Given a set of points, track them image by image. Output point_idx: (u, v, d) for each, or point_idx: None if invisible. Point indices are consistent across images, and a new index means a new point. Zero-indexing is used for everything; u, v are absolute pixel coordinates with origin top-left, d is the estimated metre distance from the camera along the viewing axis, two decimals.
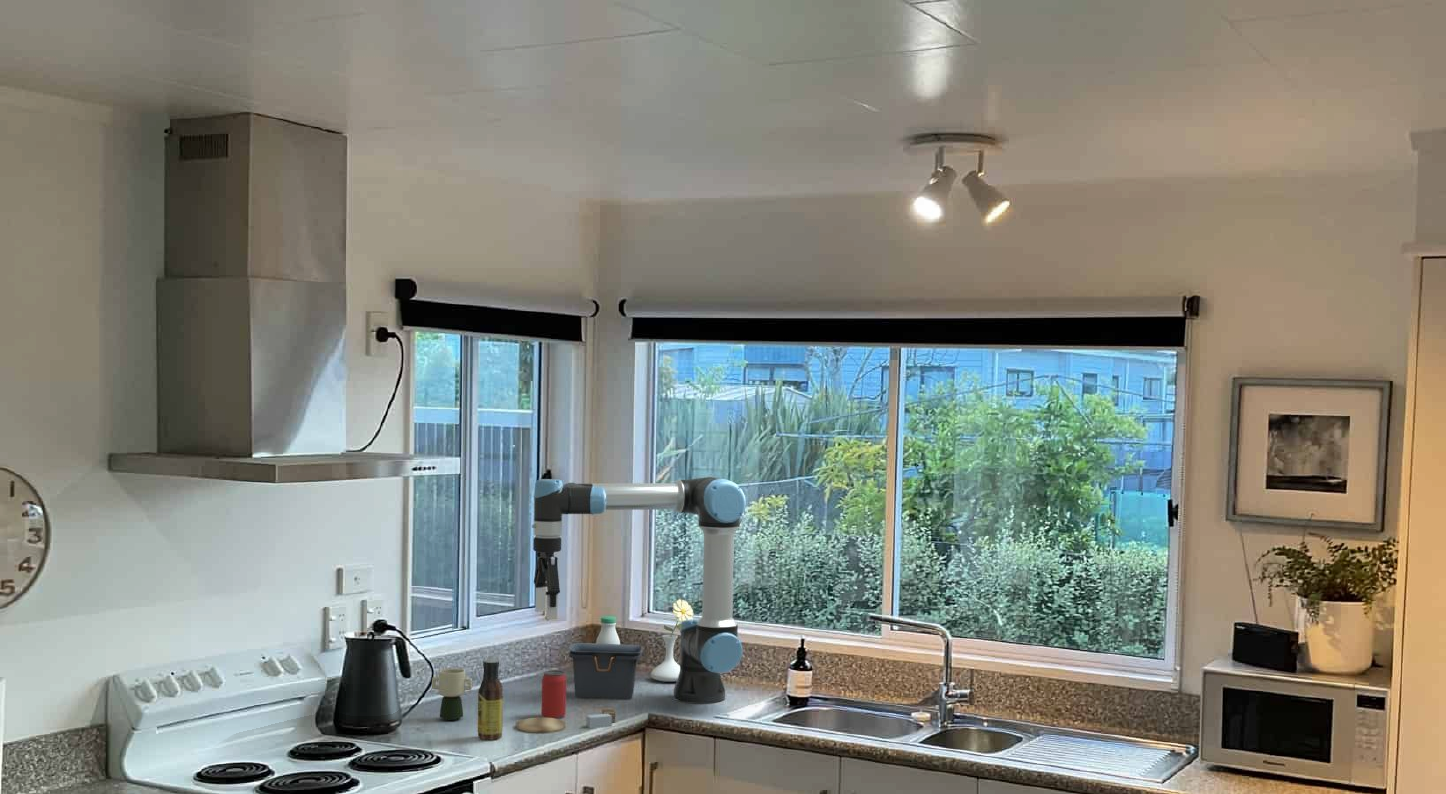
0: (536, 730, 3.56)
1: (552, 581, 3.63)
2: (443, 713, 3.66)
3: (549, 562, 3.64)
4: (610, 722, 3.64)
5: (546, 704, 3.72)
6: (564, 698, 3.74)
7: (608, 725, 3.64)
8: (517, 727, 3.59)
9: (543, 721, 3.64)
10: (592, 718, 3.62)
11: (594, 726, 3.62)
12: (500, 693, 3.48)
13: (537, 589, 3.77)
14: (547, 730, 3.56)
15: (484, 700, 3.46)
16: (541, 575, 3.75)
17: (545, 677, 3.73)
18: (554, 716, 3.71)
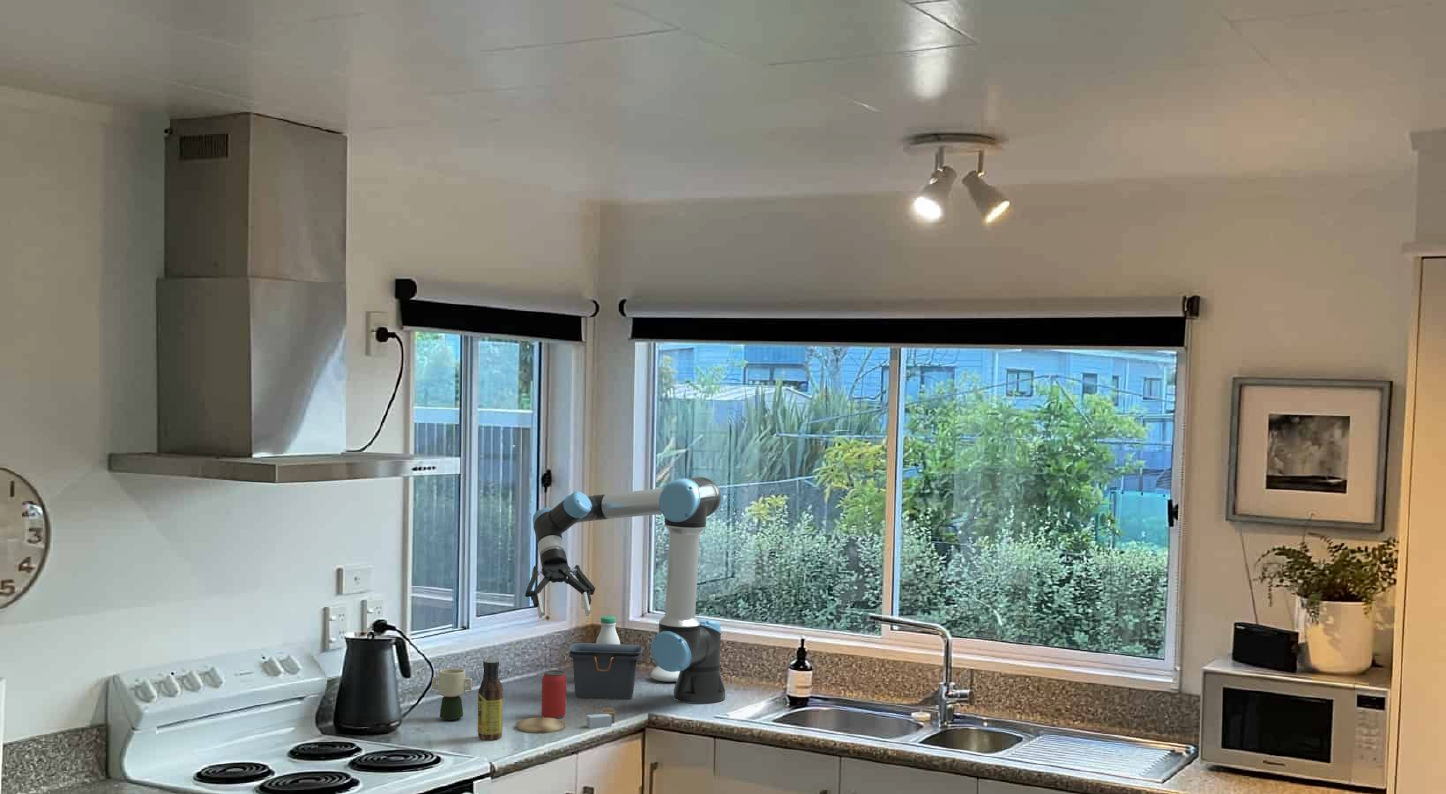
0: (536, 730, 3.56)
1: None
2: (443, 713, 3.66)
3: (532, 574, 3.97)
4: (610, 722, 3.64)
5: (546, 704, 3.72)
6: (564, 698, 3.74)
7: (608, 725, 3.64)
8: (517, 727, 3.59)
9: (543, 721, 3.64)
10: (592, 718, 3.62)
11: (594, 726, 3.62)
12: (500, 693, 3.48)
13: (582, 598, 3.96)
14: (547, 730, 3.56)
15: (484, 700, 3.46)
16: (574, 585, 3.97)
17: (545, 677, 3.73)
18: (554, 716, 3.71)
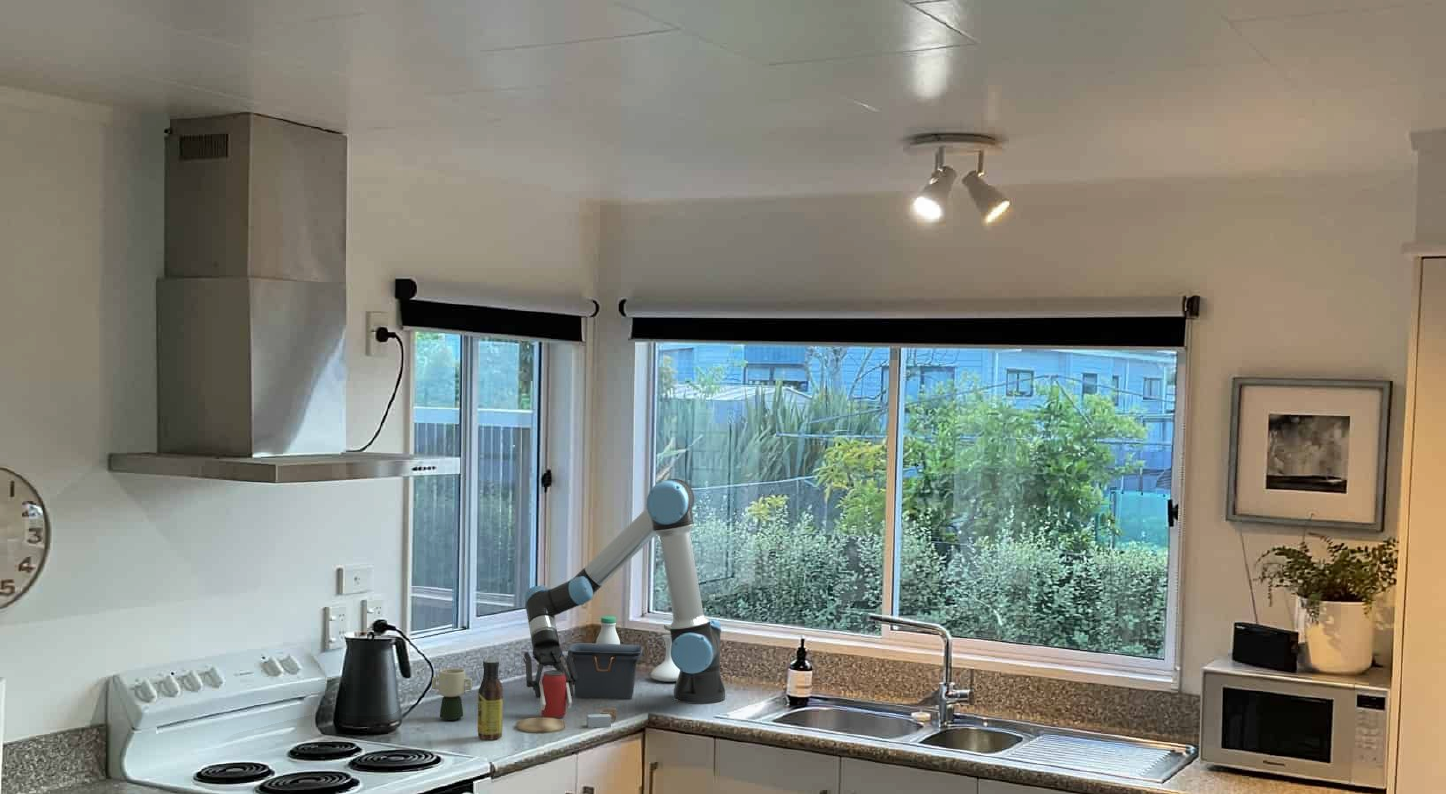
0: (536, 730, 3.56)
1: (526, 676, 3.76)
2: (443, 713, 3.66)
3: (524, 661, 3.80)
4: (609, 723, 3.64)
5: (546, 704, 3.72)
6: (564, 698, 3.73)
7: (607, 725, 3.64)
8: (517, 727, 3.59)
9: (543, 721, 3.64)
10: (591, 718, 3.62)
11: (593, 726, 3.63)
12: (500, 693, 3.48)
13: None
14: (547, 730, 3.56)
15: (484, 700, 3.46)
16: None
17: (545, 677, 3.72)
18: (554, 716, 3.71)
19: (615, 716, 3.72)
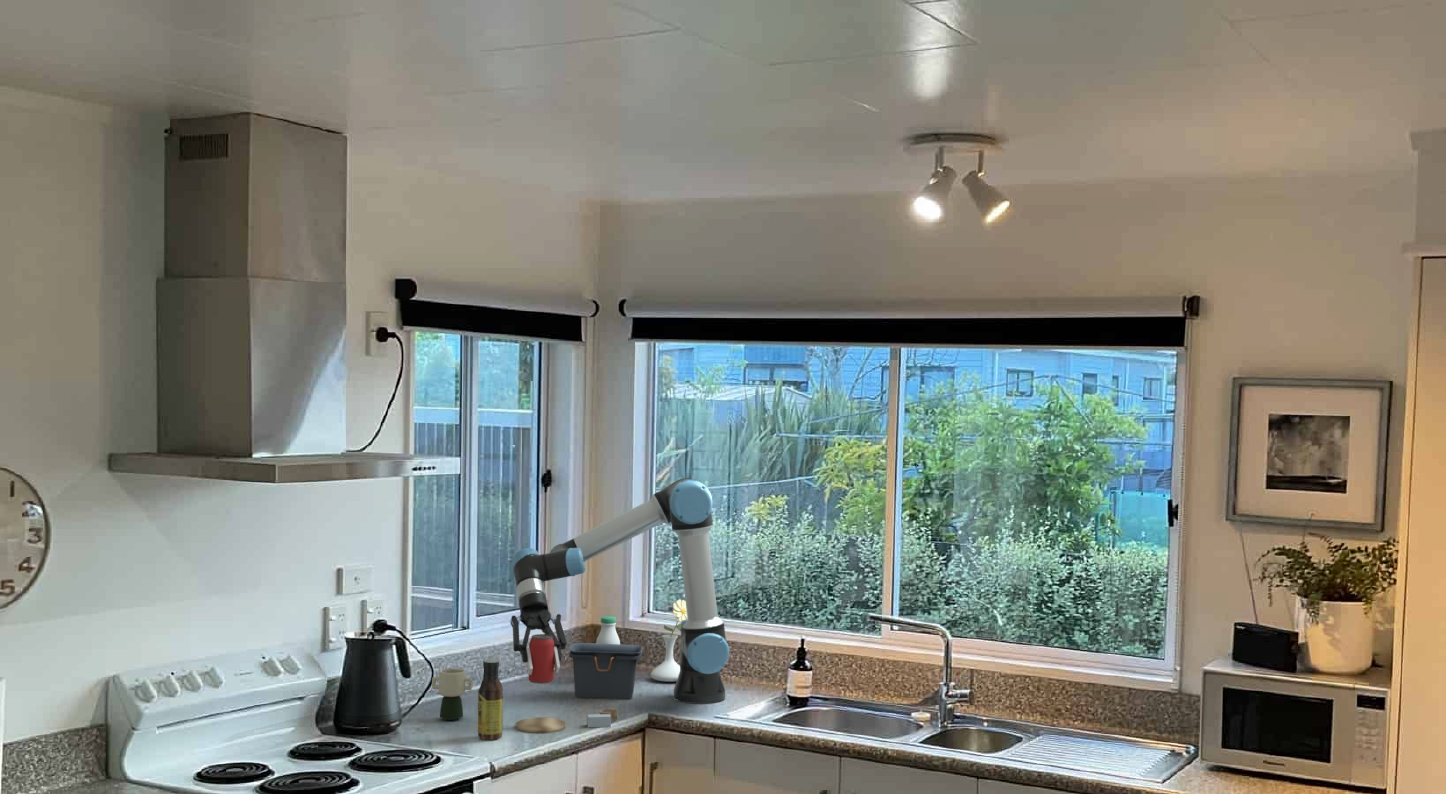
0: (536, 730, 3.56)
1: (513, 640, 3.64)
2: (443, 713, 3.66)
3: (511, 625, 3.68)
4: (609, 723, 3.63)
5: (533, 668, 3.60)
6: (552, 662, 3.61)
7: (607, 726, 3.63)
8: (517, 727, 3.59)
9: (543, 721, 3.64)
10: (590, 718, 3.63)
11: (592, 726, 3.63)
12: (500, 693, 3.48)
13: None
14: (547, 730, 3.56)
15: (484, 700, 3.46)
16: None
17: (532, 641, 3.60)
18: (541, 681, 3.59)
19: (616, 716, 3.72)
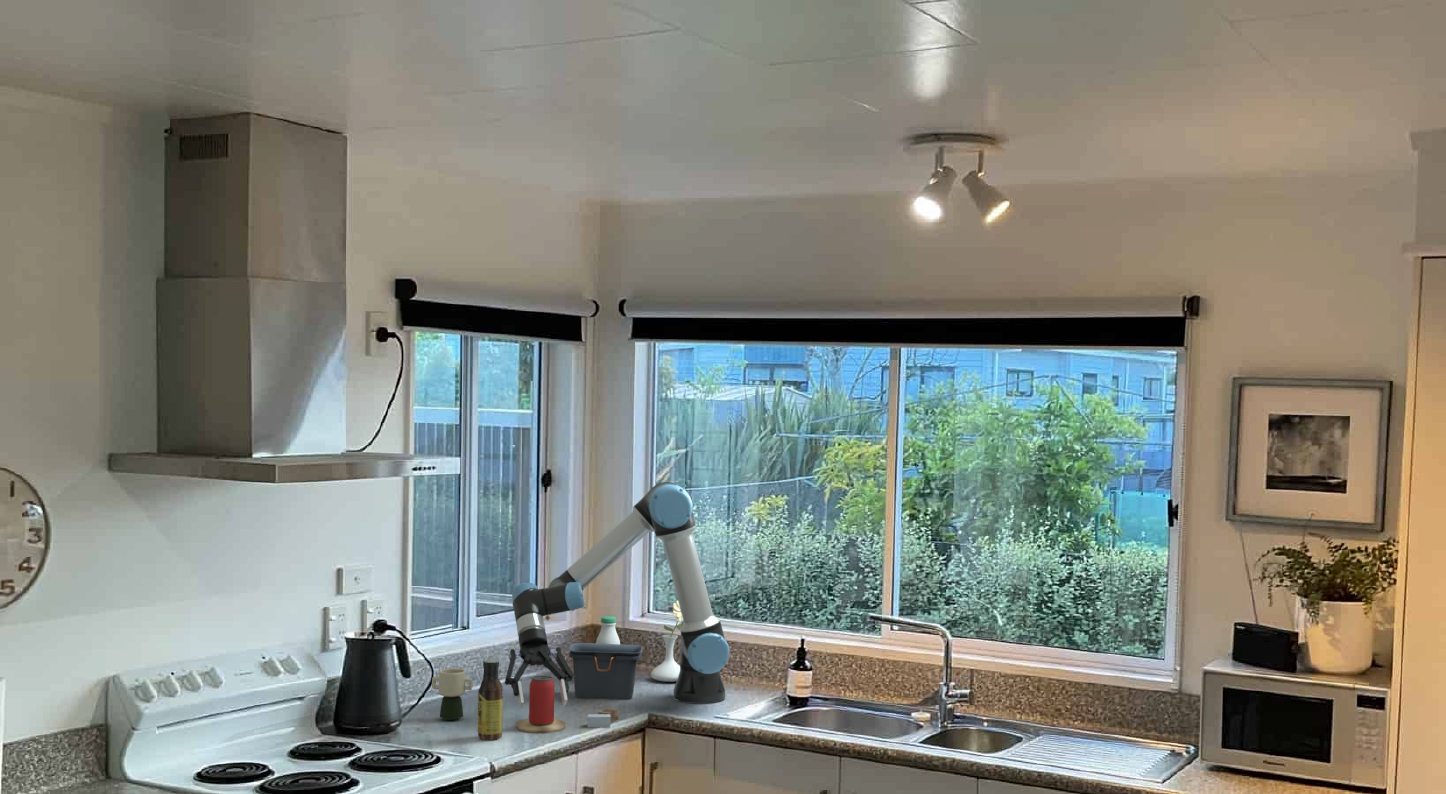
0: (536, 730, 3.56)
1: None
2: (443, 713, 3.66)
3: None
4: (609, 723, 3.63)
5: (533, 710, 3.59)
6: (553, 704, 3.61)
7: (607, 726, 3.63)
8: (517, 727, 3.59)
9: None
10: (590, 717, 3.63)
11: (592, 726, 3.63)
12: (500, 693, 3.48)
13: (559, 685, 3.66)
14: (547, 730, 3.56)
15: (484, 700, 3.46)
16: (552, 670, 3.68)
17: (533, 682, 3.60)
18: (542, 723, 3.59)
19: (616, 716, 3.72)
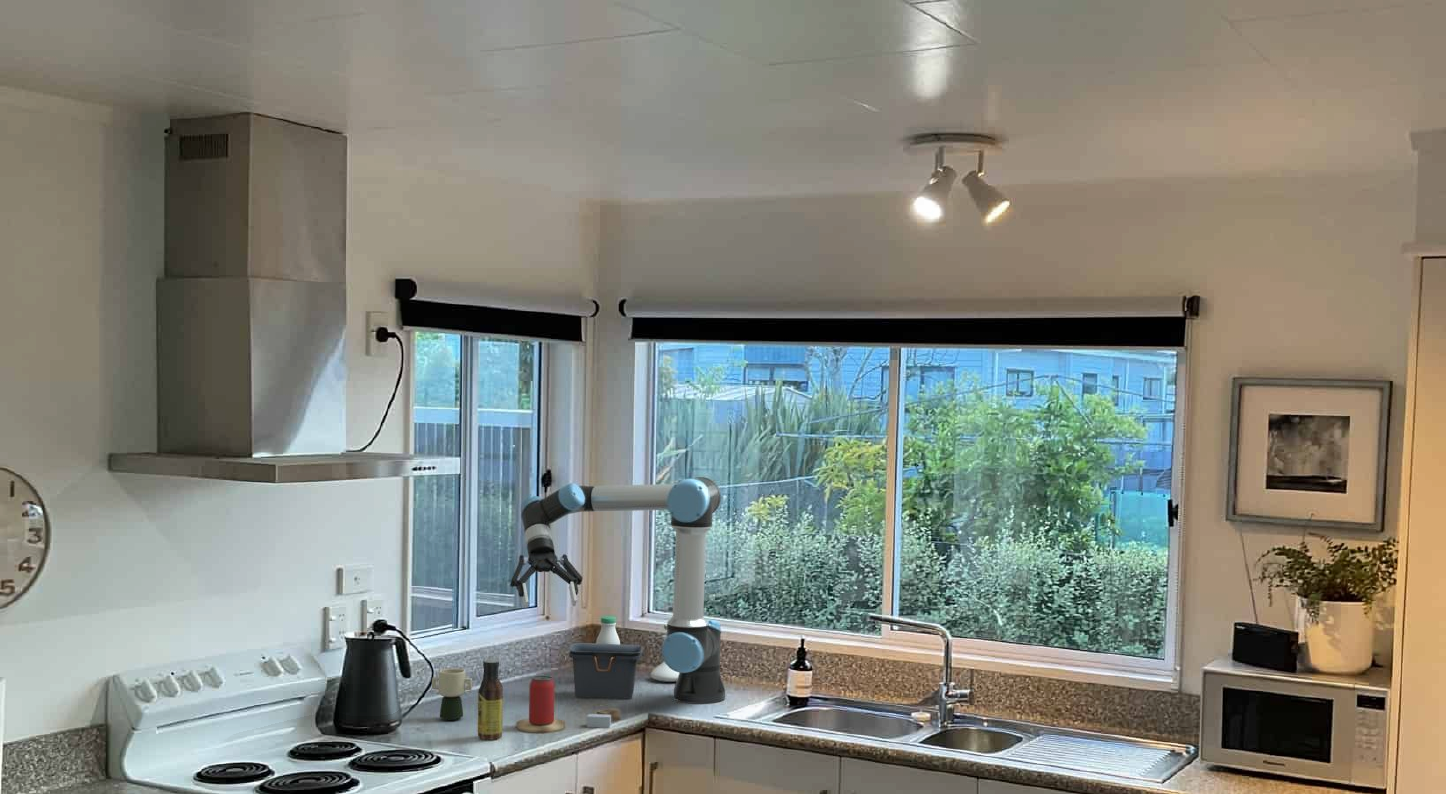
0: (536, 730, 3.56)
1: None
2: (443, 713, 3.66)
3: (518, 563, 3.88)
4: (608, 723, 3.63)
5: (533, 710, 3.59)
6: (553, 704, 3.61)
7: (606, 726, 3.63)
8: (517, 727, 3.59)
9: None
10: (589, 717, 3.63)
11: (591, 725, 3.63)
12: (500, 693, 3.48)
13: (569, 588, 3.87)
14: (547, 730, 3.56)
15: (484, 700, 3.46)
16: (561, 575, 3.88)
17: (533, 682, 3.60)
18: (542, 723, 3.59)
19: (617, 717, 3.71)
